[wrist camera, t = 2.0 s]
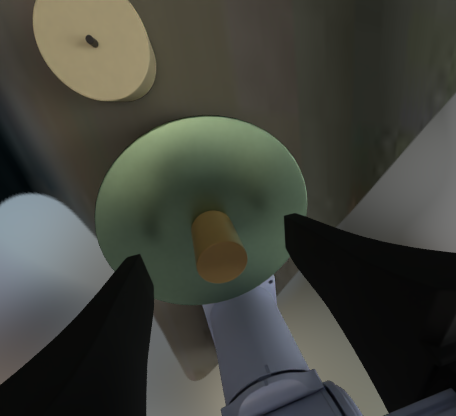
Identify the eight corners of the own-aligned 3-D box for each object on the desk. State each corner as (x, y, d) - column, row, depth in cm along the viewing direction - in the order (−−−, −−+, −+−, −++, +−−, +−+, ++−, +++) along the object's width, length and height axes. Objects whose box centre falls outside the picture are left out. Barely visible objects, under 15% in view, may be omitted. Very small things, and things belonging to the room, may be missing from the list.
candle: (164, 95, 15) (161, 91, 10) (96, 107, 14) (58, 109, 9) (142, 10, 13) (125, -44, 8) (61, 20, 12) (-8, -32, 7)
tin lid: (299, 266, 17) (334, 312, 14) (143, 313, 16) (134, 379, 12) (297, 94, 12) (355, 91, 8) (55, 140, 10) (-12, 162, 7)
